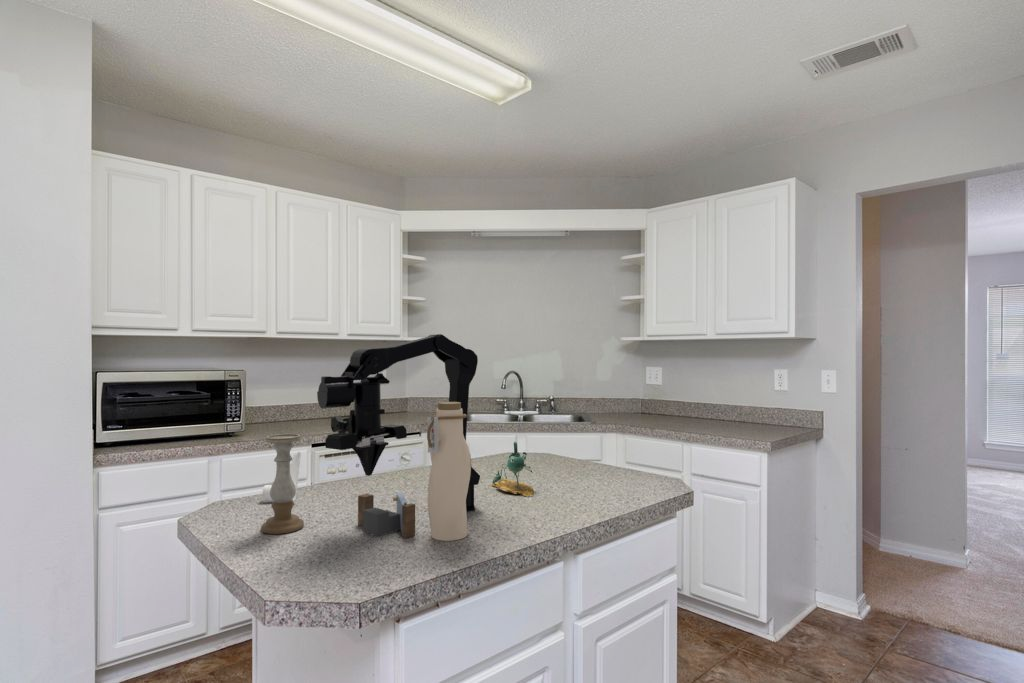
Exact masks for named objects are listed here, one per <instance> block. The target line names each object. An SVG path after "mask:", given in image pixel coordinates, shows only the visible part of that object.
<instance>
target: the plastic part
mask: <svg viewBox="0 0 1024 683" xmlns="http://www.w3.org/2000/svg"><path fill="white" fill-rule="evenodd" d="M301 458H302V453H301V451H297V452H295V453H294V454H293V457H292V459H293V460H291V462H290V475H291V478H292V480H293V482H294V484H295V487H296V495H295V496H294V498H293V499H292V502H295V501H296V498H297V490H298V483H299V474H300V467H301V466H300V465H301ZM271 486H272V484H265V485H264V486H263V488H262V492H261V493H262V495H261V497H262V498H261V499H262V503H263V504H265V503H267V504H269V503H274V501H273V500H272V499H271V497H270V489H271Z"/></svg>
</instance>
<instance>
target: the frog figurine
mask: <svg viewBox="0 0 1024 683" xmlns="http://www.w3.org/2000/svg"><path fill="white" fill-rule="evenodd" d="M527 456H528V455H527V452H525V451H523V452H522V455H521V453H520V452H518V443H517V441H514V442H513V452H511V454H510V455H509V456H508V459H507V461H506V462H507V464H504V463H503V464H502V465H501V470H498V471H497V474H495V476H494V477H493V480H492V483H491V484H490V486H491V485H493V486H494V488H498V489H499V490H501V491H503V492H507V493H511V494H514V495H517V494H519V495H522V496H523V497H525V496H527V497H526V498H529V497H528V496H530V497H531V496H532V497H534V494H533V493H534V492H535V490H534V488H533V485H529V484H527V483H526V484H525V483H524V482H522V481H520V480H519V477H520V472H522V471H523V469H524V468H525V469H526V470H528V472H530V473H531V474H532V473H533V470H532V469H531V466H530V465H529V466H527V463H525V461H526V460H527ZM503 466H505V467H504V468H503ZM507 468H508V471H509V472H512V474H514V475H513V478H516V481H515V480H512V479H508V476H507V474H506V469H507ZM530 469H531V470H530ZM503 471H504V476H505V478H502V477H503ZM517 474H518V475H517ZM493 486H492V487H493Z"/></svg>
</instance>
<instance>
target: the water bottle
mask: <svg viewBox="0 0 1024 683" xmlns="http://www.w3.org/2000/svg"><path fill="white" fill-rule="evenodd" d="M466 417H467V418H468V414H467V415H466V414H463V411H462V409H461V403H460V402H449V401H441V402H438V403H437V408H436V413H435V414H434V415H433V416H430V417H429V416H427V433H426V439H427V453H430V462H431V467H430V471H429V476H428V484H427V508H428V510H427V512H428V519H429V525H430V536H431V538H433V539H434V540H436V541H442V542H444V541H445V542H446V541H447V542H451V541H457V540H462V539H464V538H466V537H467V536H468V519H467V517H468V516H467V510H466V497H467V492H468V486H469V480H470V473H471V467H472V458H471V459H470V455H471V452H470V447H469V445H468V443H467V440H466V441H465V438H464V435H463V418H466Z"/></svg>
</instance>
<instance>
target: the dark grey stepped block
mask: <svg viewBox="0 0 1024 683" xmlns="http://www.w3.org/2000/svg"><path fill="white" fill-rule="evenodd" d="M362 527H363V528H362V529H363V530H362V531H363V532H364V531H365V532H364V533H366V532H368V533H367V534H369V533H370V534H369V535H372V534H373V535H372V536H375V537H380V536H383V535H386V534H385V533H387V534H389V532H390V533H393V532H392V531H394V532H396V531H395V530H397V531H400V530H401V529H400V514H398V513H397V512H394V511H390V510H387V509H382V508H378V507H373V508H371V509H367V510H363V526H362ZM399 529H400V530H399ZM382 534H383V535H382ZM379 535H380V536H379Z"/></svg>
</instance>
